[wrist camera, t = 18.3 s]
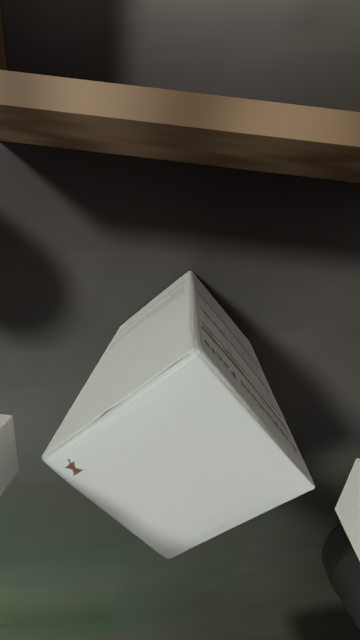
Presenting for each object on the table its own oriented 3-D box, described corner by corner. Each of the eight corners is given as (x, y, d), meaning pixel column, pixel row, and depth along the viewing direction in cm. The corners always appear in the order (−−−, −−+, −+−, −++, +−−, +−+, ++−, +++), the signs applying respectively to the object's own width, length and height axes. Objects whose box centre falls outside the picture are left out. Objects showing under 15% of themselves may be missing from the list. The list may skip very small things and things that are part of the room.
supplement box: (178, 389, 24) (163, 567, 12) (117, 325, 22) (29, 460, 10) (252, 340, 22) (323, 494, 10) (193, 265, 20) (195, 345, 8)
